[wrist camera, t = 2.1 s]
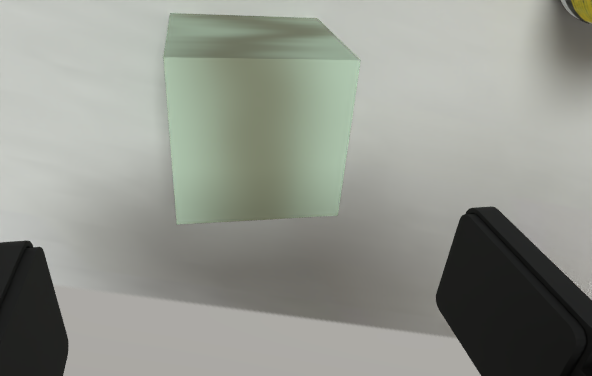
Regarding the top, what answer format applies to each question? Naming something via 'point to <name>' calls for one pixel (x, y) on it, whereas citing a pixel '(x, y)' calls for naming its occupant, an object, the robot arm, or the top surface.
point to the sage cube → (257, 116)
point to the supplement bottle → (579, 9)
